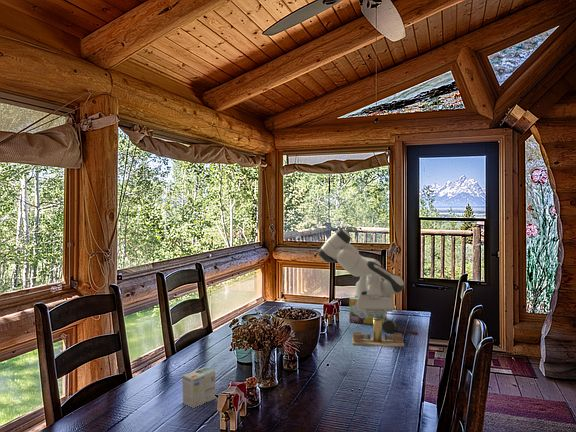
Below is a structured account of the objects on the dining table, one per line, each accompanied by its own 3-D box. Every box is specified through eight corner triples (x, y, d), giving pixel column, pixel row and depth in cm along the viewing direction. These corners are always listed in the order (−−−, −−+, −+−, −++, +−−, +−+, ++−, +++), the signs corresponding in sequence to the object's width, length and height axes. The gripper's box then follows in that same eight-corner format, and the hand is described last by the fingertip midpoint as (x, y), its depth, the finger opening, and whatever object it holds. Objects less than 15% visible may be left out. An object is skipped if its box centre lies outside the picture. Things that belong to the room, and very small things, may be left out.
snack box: (349, 322, 265) (349, 298, 265) (350, 320, 271) (350, 296, 270) (384, 325, 259) (384, 300, 259) (385, 322, 264) (385, 298, 264)
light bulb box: (204, 394, 165) (204, 366, 165) (216, 398, 161) (216, 370, 161) (181, 404, 157) (181, 374, 157) (193, 409, 153) (193, 379, 152)
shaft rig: (352, 338, 232) (352, 330, 232) (401, 340, 229) (401, 331, 229) (352, 344, 222) (352, 336, 222) (404, 346, 219) (404, 337, 219)
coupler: (372, 339, 228) (372, 316, 228) (381, 339, 228) (381, 316, 228) (373, 342, 224) (373, 318, 224) (382, 342, 223) (382, 319, 223)
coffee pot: (381, 331, 245) (387, 330, 251) (411, 341, 233) (417, 340, 240) (383, 318, 245) (389, 317, 252) (413, 328, 234) (419, 326, 240)
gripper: (392, 299, 247) (394, 320, 238) (356, 298, 249) (357, 319, 240) (393, 293, 242) (395, 314, 233) (356, 292, 245) (357, 313, 235)
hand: (375, 317), depth 237 cm, fingers open, 8 cm apart
